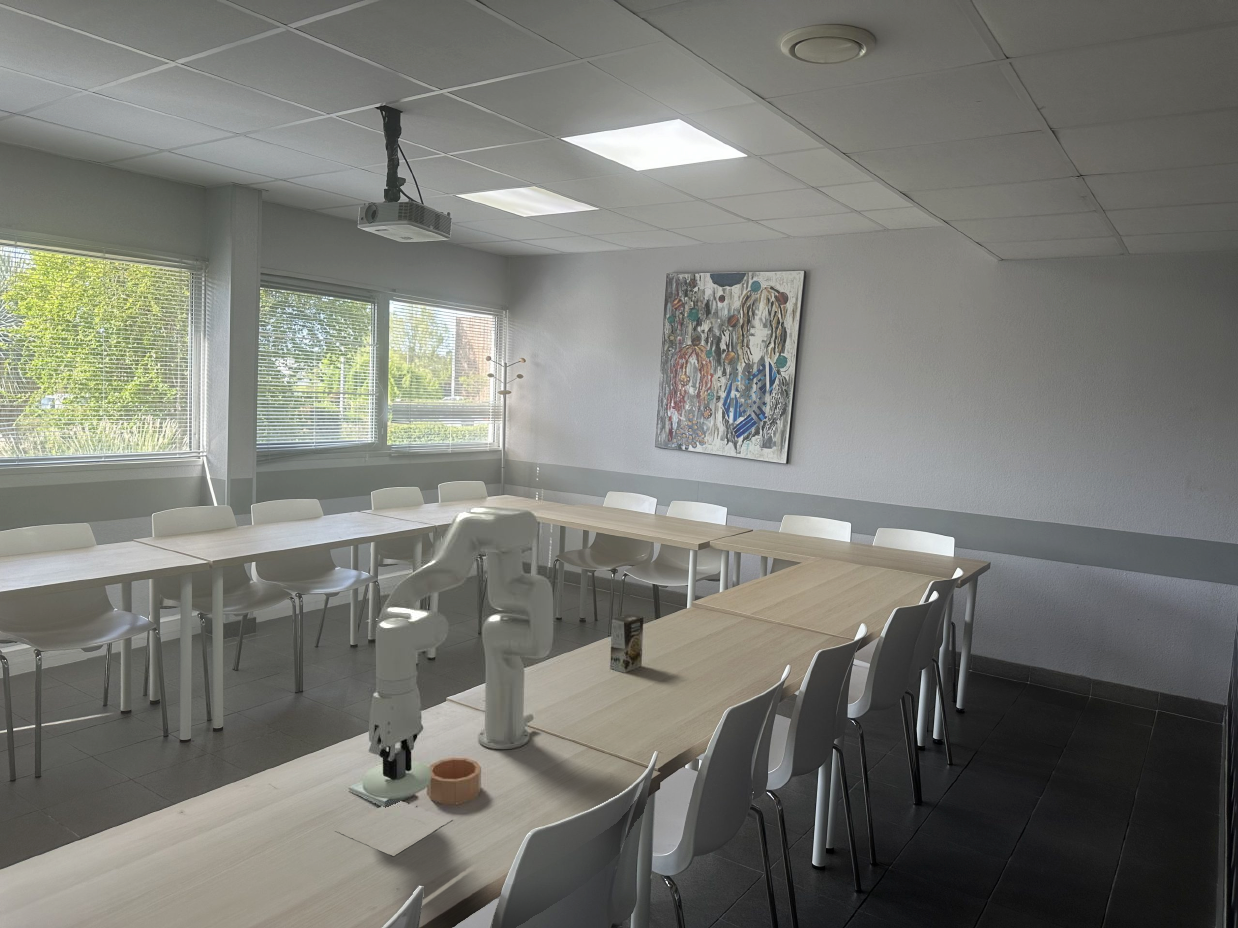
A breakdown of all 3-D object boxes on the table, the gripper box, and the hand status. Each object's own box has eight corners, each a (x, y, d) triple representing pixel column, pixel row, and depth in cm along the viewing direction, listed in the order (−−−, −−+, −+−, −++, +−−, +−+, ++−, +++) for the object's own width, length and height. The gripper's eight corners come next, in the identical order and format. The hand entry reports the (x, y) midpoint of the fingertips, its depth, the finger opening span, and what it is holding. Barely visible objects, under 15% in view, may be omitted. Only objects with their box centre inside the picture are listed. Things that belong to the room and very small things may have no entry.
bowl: (452, 777, 185) (452, 753, 185) (490, 790, 180) (490, 766, 179) (416, 796, 176) (416, 771, 175) (455, 811, 170) (456, 785, 170)
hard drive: (416, 786, 176) (380, 772, 183) (384, 800, 169) (348, 785, 177) (416, 794, 176) (380, 780, 183) (384, 808, 169) (348, 793, 177)
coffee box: (625, 673, 258) (627, 622, 257) (609, 668, 262) (610, 618, 260) (642, 666, 265) (644, 616, 264) (626, 661, 269) (628, 613, 268)
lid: (397, 760, 172) (397, 731, 171) (445, 776, 166) (444, 747, 165) (348, 786, 161) (347, 755, 160) (396, 805, 154) (396, 773, 154)
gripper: (413, 666, 170) (413, 752, 172) (349, 692, 156) (351, 785, 158) (440, 674, 166) (440, 761, 168) (377, 701, 152) (378, 796, 154)
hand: (397, 772), depth 163 cm, fingers closed on lid, 3 cm apart
